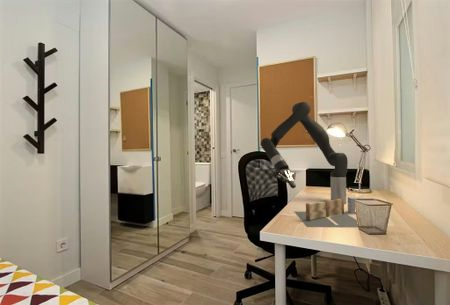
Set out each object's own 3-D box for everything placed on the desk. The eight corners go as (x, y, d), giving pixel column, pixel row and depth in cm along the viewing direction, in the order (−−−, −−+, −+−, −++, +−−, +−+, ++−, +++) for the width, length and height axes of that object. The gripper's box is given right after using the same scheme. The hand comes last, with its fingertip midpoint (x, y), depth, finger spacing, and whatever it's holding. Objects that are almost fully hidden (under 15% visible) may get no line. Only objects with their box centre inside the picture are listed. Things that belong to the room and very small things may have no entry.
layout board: (294, 212, 127) (294, 211, 127) (342, 212, 125) (342, 211, 125) (307, 227, 101) (307, 226, 101) (369, 228, 99) (369, 227, 99)
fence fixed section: (327, 217, 115) (326, 200, 115) (323, 216, 117) (323, 200, 117) (344, 213, 121) (344, 198, 121) (341, 213, 123) (341, 197, 123)
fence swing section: (323, 215, 116) (323, 200, 116) (326, 216, 115) (326, 201, 115) (305, 219, 111) (305, 203, 111) (308, 220, 109) (307, 204, 109)
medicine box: (362, 212, 124) (362, 197, 124) (366, 214, 120) (366, 198, 120) (347, 212, 125) (347, 197, 125) (351, 214, 121) (350, 198, 121)
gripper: (273, 160, 128) (288, 184, 117) (291, 159, 133) (306, 182, 122) (267, 168, 132) (281, 192, 121) (285, 167, 138) (299, 190, 127)
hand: (294, 187), depth 122 cm, fingers closed
